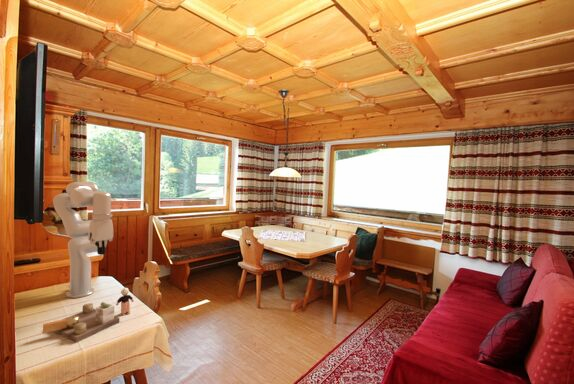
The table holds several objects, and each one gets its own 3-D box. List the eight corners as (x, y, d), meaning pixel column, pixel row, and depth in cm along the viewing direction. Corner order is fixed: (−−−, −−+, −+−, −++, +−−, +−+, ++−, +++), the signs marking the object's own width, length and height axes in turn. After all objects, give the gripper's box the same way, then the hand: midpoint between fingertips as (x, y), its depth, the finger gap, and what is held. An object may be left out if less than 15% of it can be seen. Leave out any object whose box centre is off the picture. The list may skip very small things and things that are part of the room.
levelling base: (48, 329, 122) (48, 307, 121) (91, 312, 138) (91, 292, 138) (76, 342, 114) (76, 319, 113) (119, 322, 130) (119, 301, 130)
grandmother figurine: (130, 309, 142) (130, 284, 141) (134, 312, 140) (135, 286, 139) (114, 315, 136) (114, 289, 135) (118, 318, 134) (118, 291, 133)
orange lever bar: (78, 322, 124) (78, 314, 124) (79, 326, 121) (79, 318, 121) (43, 330, 117) (43, 321, 117) (42, 335, 114) (42, 326, 113)
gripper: (111, 215, 149) (110, 249, 150) (80, 218, 135) (80, 256, 136) (121, 216, 146) (120, 252, 147) (90, 220, 132) (90, 259, 133)
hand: (101, 254), depth 142 cm, fingers closed
